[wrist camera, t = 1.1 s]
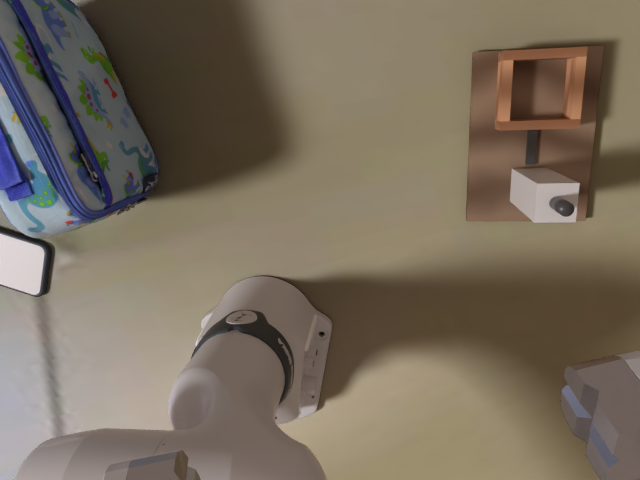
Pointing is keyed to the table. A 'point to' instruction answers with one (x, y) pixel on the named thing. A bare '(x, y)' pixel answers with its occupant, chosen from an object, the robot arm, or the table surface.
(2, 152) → the lunch box
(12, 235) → the phone case
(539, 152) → the board
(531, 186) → the connector plug
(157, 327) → the table surface
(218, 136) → the table surface
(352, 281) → the table surface
